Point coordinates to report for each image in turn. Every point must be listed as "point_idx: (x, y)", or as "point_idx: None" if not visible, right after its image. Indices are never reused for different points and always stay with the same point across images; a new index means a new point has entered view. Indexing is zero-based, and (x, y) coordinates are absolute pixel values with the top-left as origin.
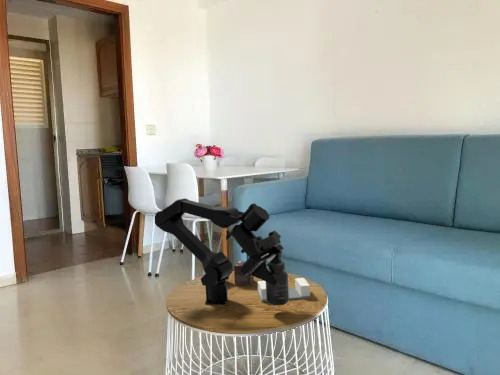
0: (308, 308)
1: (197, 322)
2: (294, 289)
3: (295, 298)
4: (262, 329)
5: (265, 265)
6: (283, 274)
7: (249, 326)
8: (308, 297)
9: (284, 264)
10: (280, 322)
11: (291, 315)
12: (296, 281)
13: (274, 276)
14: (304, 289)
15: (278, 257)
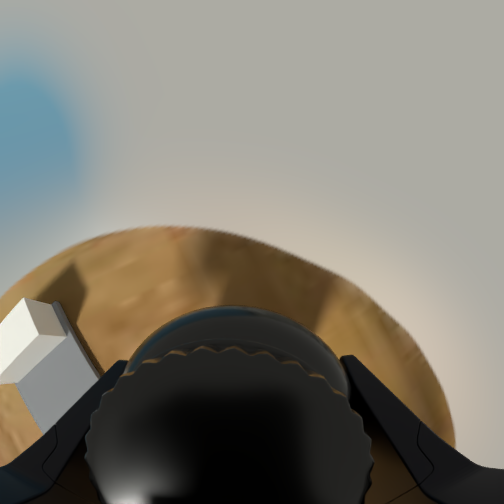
0: (147, 269)
1: None
2: (26, 383)
3: (85, 355)
4: (409, 336)
5: (471, 492)
6: (268, 328)
7: (409, 389)
8: (60, 308)
9: (171, 351)
10: (330, 311)
11: (246, 304)
12: (4, 374)
13: (351, 395)
14: (42, 321)
15: (22, 501)
